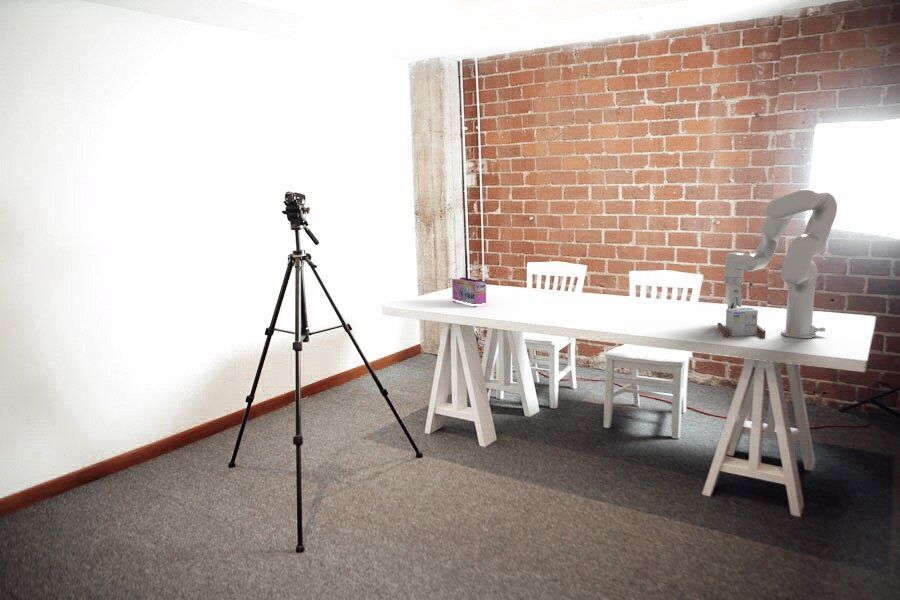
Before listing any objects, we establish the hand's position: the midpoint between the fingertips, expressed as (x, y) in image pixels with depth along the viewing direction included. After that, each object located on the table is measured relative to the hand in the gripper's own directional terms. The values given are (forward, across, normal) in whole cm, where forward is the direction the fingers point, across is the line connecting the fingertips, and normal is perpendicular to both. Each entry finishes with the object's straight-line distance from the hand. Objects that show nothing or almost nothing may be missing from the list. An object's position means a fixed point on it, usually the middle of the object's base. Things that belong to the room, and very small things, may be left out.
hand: (731, 321), depth 285 cm
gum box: (+4, +51, +127) cm, 137 cm away
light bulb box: (+2, -16, 0) cm, 16 cm away
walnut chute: (+2, -16, 0) cm, 16 cm away
